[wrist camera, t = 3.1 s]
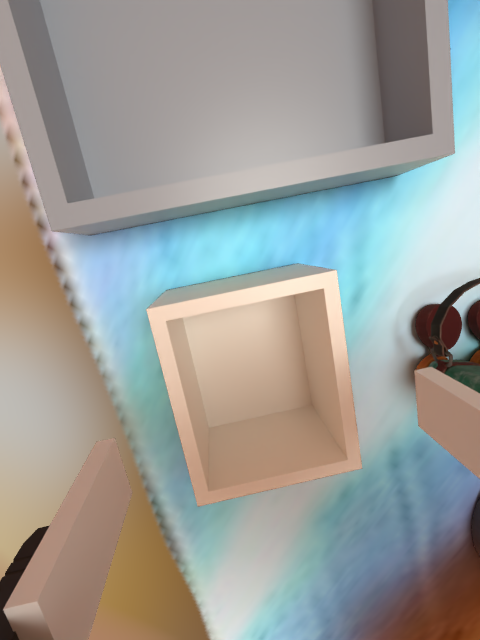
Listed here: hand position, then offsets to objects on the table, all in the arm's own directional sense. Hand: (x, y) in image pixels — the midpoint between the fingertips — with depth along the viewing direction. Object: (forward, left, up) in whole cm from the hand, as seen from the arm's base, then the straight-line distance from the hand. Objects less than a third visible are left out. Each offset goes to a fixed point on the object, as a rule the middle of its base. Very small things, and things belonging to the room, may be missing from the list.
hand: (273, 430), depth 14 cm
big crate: (+20, -2, -12) cm, 23 cm away
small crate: (0, 0, -12) cm, 12 cm away
